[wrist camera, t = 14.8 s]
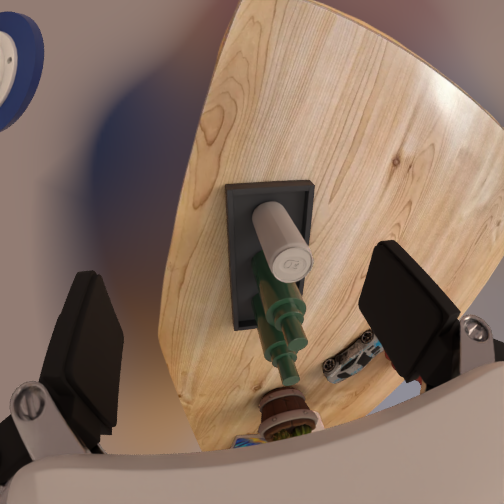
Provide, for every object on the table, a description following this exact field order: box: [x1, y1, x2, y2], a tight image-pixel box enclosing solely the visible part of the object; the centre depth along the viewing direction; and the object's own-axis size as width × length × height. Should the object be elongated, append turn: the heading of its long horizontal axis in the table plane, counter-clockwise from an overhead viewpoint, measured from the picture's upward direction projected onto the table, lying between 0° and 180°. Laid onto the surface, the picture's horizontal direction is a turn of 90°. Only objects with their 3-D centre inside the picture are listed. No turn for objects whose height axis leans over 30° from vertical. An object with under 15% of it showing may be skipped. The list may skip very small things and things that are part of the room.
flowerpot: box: [258, 387, 318, 442], centre depth 62 cm, size 14×15×20 cm
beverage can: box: [252, 202, 313, 283], centre depth 36 cm, size 5×5×12 cm
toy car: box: [323, 330, 384, 384], centre depth 63 cm, size 7×17×5 cm, turn 135°
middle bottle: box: [251, 250, 308, 351], centre depth 39 cm, size 5×5×16 cm
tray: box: [225, 180, 315, 331], centre depth 45 cm, size 12×26×2 cm, turn 0°
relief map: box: [230, 434, 269, 449], centre depth 90 cm, size 25×15×2 cm, turn 167°
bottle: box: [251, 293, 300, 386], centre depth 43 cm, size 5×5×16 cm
